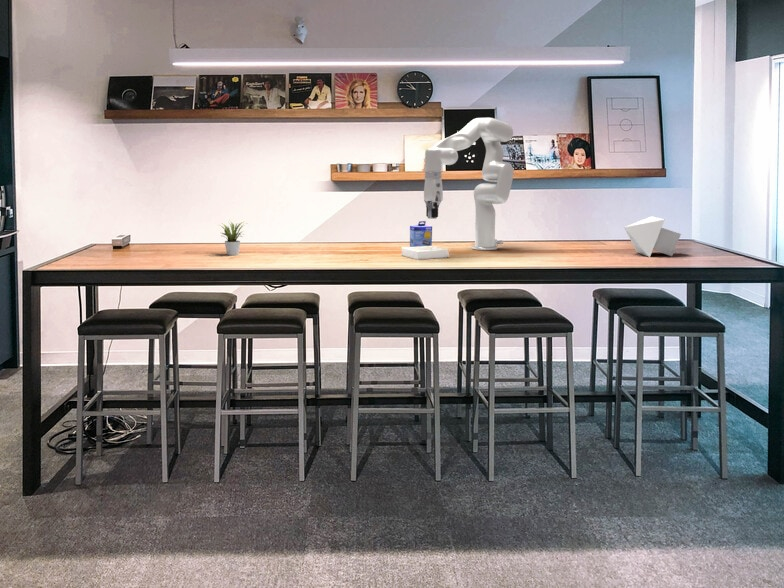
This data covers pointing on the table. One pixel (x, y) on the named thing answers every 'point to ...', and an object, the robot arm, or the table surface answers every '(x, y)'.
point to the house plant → (232, 239)
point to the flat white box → (425, 252)
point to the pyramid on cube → (652, 236)
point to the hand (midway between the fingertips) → (432, 216)
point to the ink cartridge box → (420, 235)
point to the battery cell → (430, 211)
